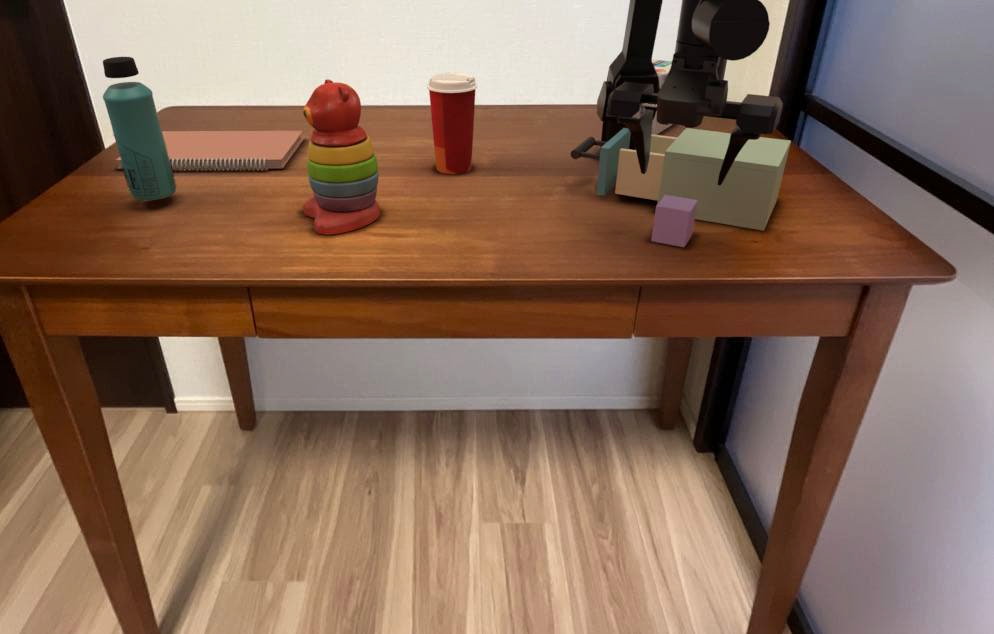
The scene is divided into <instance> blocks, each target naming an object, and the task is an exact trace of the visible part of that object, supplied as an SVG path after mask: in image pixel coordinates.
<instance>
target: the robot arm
mask: <svg viewBox="0 0 994 634" xmlns="http://www.w3.org/2000/svg"><path fill="white" fill-rule="evenodd" d="M663 1H664V0H629V4H628V10H627V17H626V24H625V30H624V37H623V44H622V48H621V52H619V54H618V55H617V56H616V57H615V59H614V60H613V61H612V62H611V64H610V65H609V66H608V71H607V77H606V80H604V81H603V83H602V86H601V89H600V91H599V94H598V96H597V99H596V100H597V101H596V115H597V117H598V118H599V120H600V121H601V122H602V127H601V136H600V137H601V139H600V141H604V142H608V141H609V140H610V139H611V138H613V137H614V136H615V135H616V134H617V133H618V132H619V131H621V130H622V129H623V128H628V129H629V131H630V133H631V135H630V144H629V149H630V150H635V148H636V152H637V157H638V161H639V165H640V170H641V173H642V174H645V173H646V172H647V167H648V163H649V156H650V145H651V133H652V122H653V120H654V117H655V114H656V111H657V122H658V123H660V124H663V125H668V124H673V125H677V126H683V127H685V128H690V129H695V128H698V127H700V125H702V123H703V120H704V117H707V118H716V119H724V120H725V119H726V120H734V121H735V125H736V126H735V127H734V129H733V130H732V131H731V136H730V141H729V145H728V148H727V151H726V154H725V157H724V161H723V164H722V167H721V170H720V173H719V178H718V185H720V186H721V184H722V183H723V181H724V179H725V177H726V175H727V174H728V172H729V170H730V168H731V166H732V164H733V163H734V161H735V159H736V157H737V155H738V154H739V152H740V151H741V149H742V148H743V146H744V145H745V144H746V142H747V141H748V140H757V139H759V138H760V137H762V135H772V134H774V132H775V130H776V128H777V126H778V125H779V123H780V118H781V115H782V111H783V106H784V103H783V101H782V100H781V98H780V97H779V96H773V95H761V94H751V93H747V94H746V96H745V97H744V98H743V99H742V101H732V100H728V95H729V94H728V93H729V81H728V80H727V79H725V74H726V70H727V63H728V61H741V60H744V59H746V58H748V57H751V56H752V55H753V54H754V53H756V52H757V51H758V50H759V49H760V48H761V46H763V44H764V42H765V40H766V38H767V36H768V33H769V31H770V26H771V25H770V18H769V13H768V10H767V7H766V6H765V4H764V3H763V2H762V1H761V0H681V6H680V12H679V20H678V27H677V33H676V41H675V48H674V53H673V54H672V60H671V61H672V64H671V68H670V71H669V73H668V75H667V77H666V79H665V81H664V83H663V85H662V87H661V89H660V85H659V77H658V75H657V72H656V70H655V68H654V65H653V63H652V60H653V54H654V48H655V43H656V39H657V32H658V28H659V22H660V17H661V11H662V7H663ZM601 147H602V146H599V151H597V153H596V154H600V151H601Z"/></svg>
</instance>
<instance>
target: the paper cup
mask: <svg viewBox="0 0 994 634" xmlns="http://www.w3.org/2000/svg"><path fill="white" fill-rule="evenodd" d="M478 87H479V86H478V84H477V83H476V78H475V75H472V74H469V73H464V72H443V73H437V74H434V75H431V76H430V78H429V80H428V84H427V85H426V89H427V90H428V93H429V103H430V104H429V105H430V116H431V127H432V128H431V129H432V137H433V148H434V159H435V168H436V170H437V171H438V172H439V173H441V174H445V175H462V174H465V173H467V172H469V171H470V170H471V169H472V159H473V144H474V128H475V127H474V126H475V125H474V124H475V108H476V107H475V106H476V90H477V89H478Z"/></svg>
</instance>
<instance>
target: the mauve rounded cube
mask: <svg viewBox="0 0 994 634" xmlns="http://www.w3.org/2000/svg"><path fill="white" fill-rule="evenodd" d="M697 205H698V200H695V199H688V198H682V197H676V196H670V195H665V196H664V197H663V198H662V199H661V201H660V202H659V203H658V202H657V204H656V206H655V211H654V219H653V225H652V234H651V239H650V241H651V242H653V243H659V244H665V245H669V246H674V247H680V248H685V247H686V246H687V244H688V243H689V241H690V239H691V238H692V236H693V233H694V227H695V221H696V219H695V216H696V210H697Z"/></svg>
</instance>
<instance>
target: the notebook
mask: <svg viewBox="0 0 994 634" xmlns="http://www.w3.org/2000/svg"><path fill="white" fill-rule="evenodd" d="M161 131H162V133H163V137H164V141H165V142H166V143H165V144H166V149H168V150H167V152H168V157H169V158H170V159H169V161H171V163H170V165H172V167H171V169H173V171H174V172H175V171H180V172H181V171H185V172H186V171H187V172H188V171H189V172H190V171H196V172H197V171H202V172H203V171H205V172H206V171H221V172H222V171H235V172H236V171H257V172H259V170H260V171H269V169H271V170H273V169H277V170H278V169H279V170H280V169H281V170H282V169H284V167H285V166H286V165H287V164H288V162H289V161H290V159H291V158H292V156H293V155H294V154H295V152H296V151H297V149H298V148H299V147H300V146H301V144H302V142H303V141H304V140H305V137H302V134H303V133H304V130H177V131H176V130H165V131H163V130H161ZM119 157H120V156H119ZM119 157H117V158H116V159H114V160H115V162H118V166H117V169H118V170H123V169H124V168H122V166H123V164H122V162H121V161H120V160H121V157H120V158H119Z"/></svg>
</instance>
